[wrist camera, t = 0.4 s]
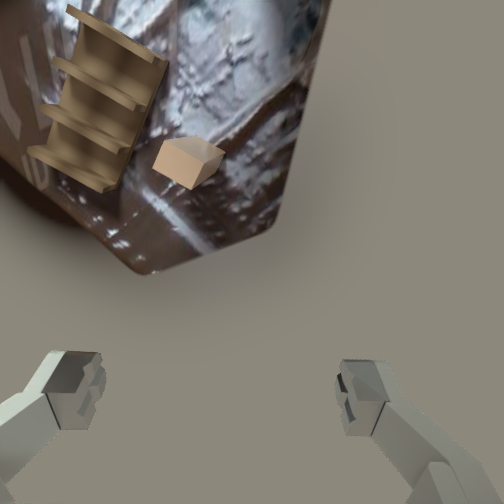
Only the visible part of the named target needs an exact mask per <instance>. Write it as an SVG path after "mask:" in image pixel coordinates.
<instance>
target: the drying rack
mask: <svg viewBox="0 0 504 504" xmlns="http://www.w3.org/2000/svg"><path fill="white" fill-rule="evenodd" d="M66 13H68V14H70V15H71V16H73V17H75V18H76V19H78V20H80V21H81V22H83V24H82V27H81V30H80V34H79V37H78V40H77V44H76V47H75V50H74V54H73V57H72V60H71V61H69V60H65V59H62V58H59V57H55V56H53V59H52V63H51V64H53V65H54V66H56V67H58V68H60V69H61V70H63V71H65V72H66V73H68V74H67V77H66V80H65V84H64V87H63V90H62V94H61V97H60V100H59V104H58V105H55V104H42V103H40V106H39V109H38V110H39V111H40V112H42V113H44V114H46V115H48V116H49V117H51V118H53V119H54V121H53V124H52V127H51V131H50V134H49V137H48V141H47V144H46V145H36V146H28V149H27V152H26V153H28V154H30V155H32V156H34V157H36V158H37V159H39V160H41V161H43V162H45V163H46V164H48V165H50V166H52V167H54V168H56V169H57V170H59V171H61V172H63V173H65V174H66V175H68V176H70V177H72V178H74V179H76V180H77V181H79V182H81V183H83V184H85V185H86V186H88V187H90V188H92V189H94V190H96V191H97V192H99V193H101V194H103V193H105V192H108V191H110V190H116V189H118V187H119V185H120V183H121V180H122V178H123V175H124V173H125V170H126V168H127V165H128V163H129V160H130V158H131V155H132V153H133V150H134V148H135V145H136V143H137V140H138V138H139V135H140V133H141V130H142V128H143V125H144V123H145V120H146V118H147V115H148V113H149V110H150V108H151V105H152V103H153V100H154V98H155V95H156V93H157V90H158V88H159V85H160V83H161V80H162V78H163V75H164V73H165V70H166V68H167V65H168V63H169V61H168V60H166V59H165V58H163V57H161V56H160V55H158V54H156V53H155V52H153V51H151V50H150V49H148V48H146V47H145V46H143V45H142V44H140V43H138V42H137V41H135V40H133V39H132V38H130V37H128V36H127V35H125V34H123V33H122V32H120V31H118V30H117V29H115V28H113V27H112V26H110V25H109V24H107V23H105V22H104V21H102V20H100V19H99V18H97V17H95V16H94V15H92V14H90V13H88V12H87V11H86V13H84V12H83V11H81V10H79V9H77V8H75V7H73V6H72V5H70V4H68V5H67V9H66Z"/></svg>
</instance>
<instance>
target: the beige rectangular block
mask: <svg viewBox="0 0 504 504" xmlns="http://www.w3.org/2000/svg"><path fill="white" fill-rule="evenodd" d="M225 153H226V152H224V151H223V150H221V149H219V148H218V147H216V146H214V145H213V144H211V143H209V142H207V141H206V140H204V139H202V138H201V137H199V136H190V137H183V138H176V139H169V140H164V142H163V145H162V147H161V149H160V152H159V154H158V156H157V159H156V161H155V163H154V166H153V169H155V170H157V171H158V172H160V173H162V174H164V175H165V176H167V177H169V178H171V179H172V180H174V181H176V182H178V183H179V184H181V185H183V186H185V187H186V188H188V189H190V190H192V189H193V188H195V187H196V186H197V185H199V184H200V183H202V182H203V181H204V180H206V179H207V178H208V177H210V176H211V175H213V174H214V173H215V172H216V171H217V169H218V167H219V165H220V163H221V161H222V159H223V157H224V155H225Z"/></svg>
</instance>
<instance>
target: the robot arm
mask: <svg viewBox="0 0 504 504" xmlns="http://www.w3.org/2000/svg"><path fill="white" fill-rule="evenodd" d="M101 362H102V357H101V354H100V353H98V352H80V351H58V350H53V351H51V352H50V353H48V354H47V356H46V357H45V359H44V360H43V362H42V363H41V365H40V366H39V368H38V369H37V371H36V372H35V374H34V376H33V377H32V379H31V380H30V382H29V383H28V385H27V386H26V388H25V389H24V391H23V392H22V393H16V394H15V395H13V396H12V397H10V398H9V399H7V400H6V401H4V402H3V403H1V404H0V504H30V503H14V502H15V500H14V496H13V495H12V493H11V492H10V490H9V489H8V487H7V486H6V483H7V482H8V481H10V480H11V479H12V477H14V476H15V475H16V474H17V473H18V472H19V471H20V470H21V469H22V468H23V467H24V466H25V465H26V464H27V463H28V462H29V461H30V460H31V459H32V458H33V457H34V456H35V455H36V454H38V452H39V451H41V450H42V449H43V448H44V447H45V446H46V445H47V444H48V443H49V442H50V441H51V440H52V439H53V438H54V437H55V436H56V435H57V434H58V433H59V432H60V430H87V429H88V428H89V425H90V423H91V421H92V418H93V416H94V414H95V411H96V409H95V406H94V403H95V402H96V401H98V400H99V399H100V398H101V397H102V394H103V392H104V389H105V384H106V372H105V369H104V368H103V367H102V366H100V364H101ZM339 368H340V371H341V373H340V374H338V375H337V377H336V381H335V394H336V399H337V404H338V405H339V406H340V407H341V408H342V409H343V410H342V413H341V420H342V423H343V427H344V431H345V435H347V436H367V437H371V439H372V440H373V441H374V442H375V444H376V445H377V446H378V447H379V448H380V450H381V451H382V452H383V453H384V454H385V456H386V457H387V458H388V459H389V461H390V462H391V463H392V464H393V466H394V467H395V468H396V469H397V470H398V472H399V473H400V474H401V475H402V477H403V478H404V479H405V480H406V481H407V483H408V484H409V485H410V486H411V488H412V489H413V491H412V492H411V494H410V496H409V497H408V499H407V501H406V502H405V504H503V503H502V501H501V499H500V497H499V495H498V493H497V492H496V490H495V488H494V486H493V484H492V483H491V481H490V479H489V477H488V475H487V474H486V472H485V470H484V468H483V467H482V465H481V463H480V461H478V460H477V459H476V458H475V457H474V456H472V455H471V454H470V453H469V452H468V451H467V450H466V449H464V448H463V447H462V446H460V444H459V443H457V442H456V441H455V440H454V439H453V438H452V437H450V436H449V435H448V434H447V433H446V432H445V431H443V430H442V429H441V428H440V427H439V426H438V425H436V424H435V423H434V422H433V421H432V420H431V419H429V418H428V417H427V416H426V415H425V414H423V413H422V412H421V411H420V410H419V409H418V408H416V407H415V406H414V405H413V404H412V403H407V402H406V400H405V397H404V395H403V393H402V391H401V389H400V386H399V384H398V382H397V380H396V378H395V375H394V373H393V371H392V369H391V367H390V364H389V363H388V362H387V361H385V360H384V361H383V360H348V359H347V360H345V359H343V360H342V361H341V363H340V366H339Z"/></svg>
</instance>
